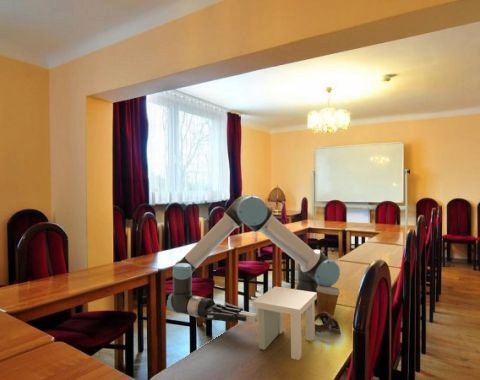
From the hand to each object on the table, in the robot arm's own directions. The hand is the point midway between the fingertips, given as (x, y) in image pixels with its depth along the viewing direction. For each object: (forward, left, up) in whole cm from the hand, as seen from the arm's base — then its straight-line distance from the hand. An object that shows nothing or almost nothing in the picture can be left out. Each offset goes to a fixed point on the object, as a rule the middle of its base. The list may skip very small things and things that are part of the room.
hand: (256, 318), depth 115 cm
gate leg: (0, +5, -7) cm, 8 cm away
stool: (-1, +11, -7) cm, 13 cm away
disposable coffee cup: (-29, +16, -7) cm, 34 cm away
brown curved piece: (-17, +20, -7) cm, 27 cm away
